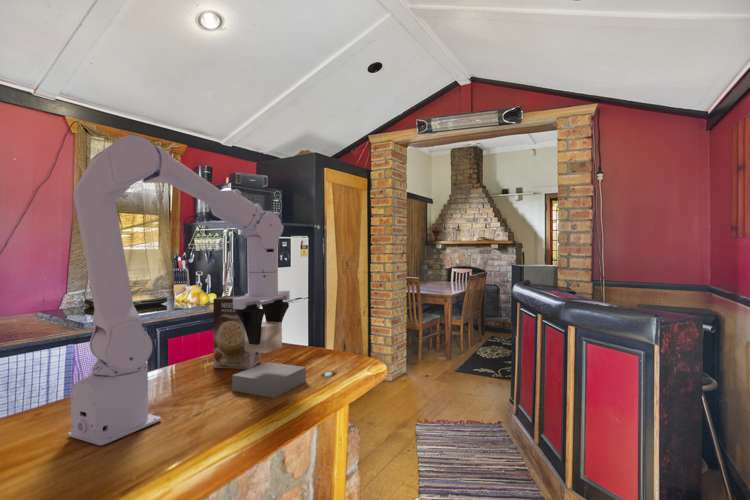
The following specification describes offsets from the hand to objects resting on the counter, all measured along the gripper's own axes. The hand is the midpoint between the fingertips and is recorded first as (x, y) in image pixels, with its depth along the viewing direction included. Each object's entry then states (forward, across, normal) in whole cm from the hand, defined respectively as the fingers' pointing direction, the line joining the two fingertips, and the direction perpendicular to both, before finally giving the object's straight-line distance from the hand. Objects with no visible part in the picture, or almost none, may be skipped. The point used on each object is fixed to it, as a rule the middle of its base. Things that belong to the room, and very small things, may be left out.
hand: (264, 341), depth 81 cm
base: (+9, -1, +1) cm, 9 cm away
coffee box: (+9, -10, -16) cm, 21 cm away
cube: (+2, 0, 0) cm, 2 cm away
